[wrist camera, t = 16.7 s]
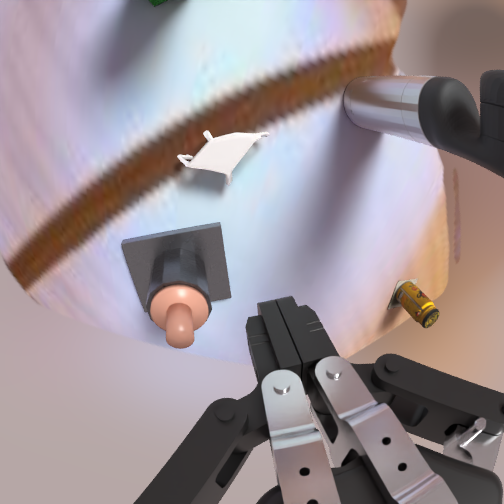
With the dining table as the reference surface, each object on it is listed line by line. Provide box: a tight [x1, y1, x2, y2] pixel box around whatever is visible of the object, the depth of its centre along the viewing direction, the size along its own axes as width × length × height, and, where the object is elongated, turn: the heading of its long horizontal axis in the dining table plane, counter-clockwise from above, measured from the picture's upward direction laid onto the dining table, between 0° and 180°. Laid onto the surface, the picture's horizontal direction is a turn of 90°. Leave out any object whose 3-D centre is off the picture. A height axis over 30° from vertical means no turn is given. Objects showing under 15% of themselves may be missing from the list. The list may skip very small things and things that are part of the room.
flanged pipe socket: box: [121, 222, 231, 321], centre depth 42 cm, size 16×14×10 cm
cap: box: [150, 285, 208, 349], centre depth 36 cm, size 8×8×8 cm
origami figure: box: [177, 131, 269, 186], centre depth 37 cm, size 12×8×5 cm
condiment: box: [388, 279, 439, 328], centre depth 59 cm, size 7×8×12 cm
